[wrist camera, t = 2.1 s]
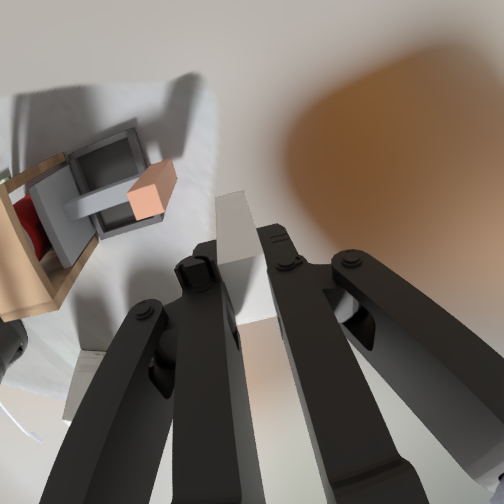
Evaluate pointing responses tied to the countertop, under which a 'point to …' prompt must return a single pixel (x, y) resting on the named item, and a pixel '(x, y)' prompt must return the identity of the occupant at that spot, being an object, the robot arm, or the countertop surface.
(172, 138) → the countertop surface
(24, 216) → the canned food
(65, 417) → the skincare box
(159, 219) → the tray
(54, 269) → the tunnel
